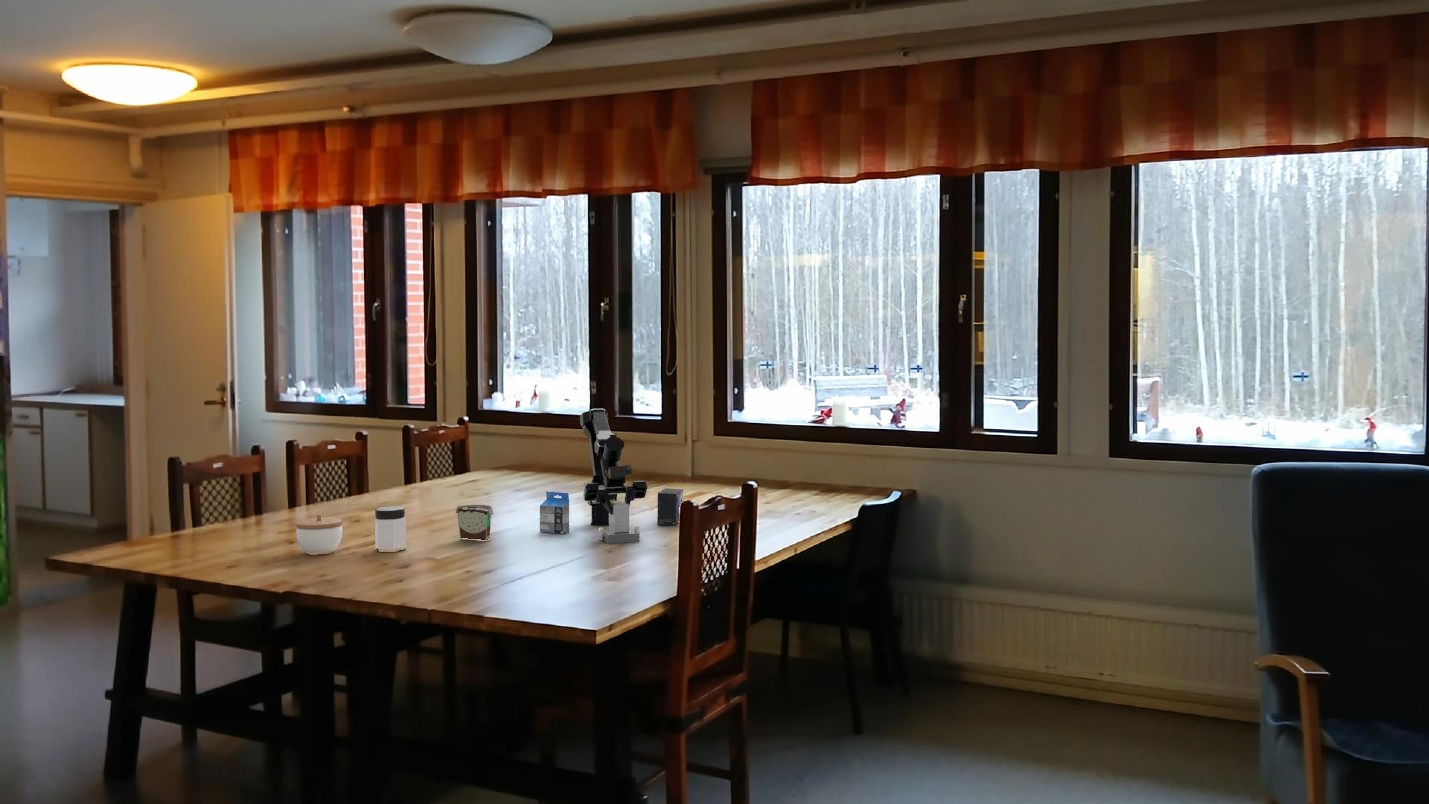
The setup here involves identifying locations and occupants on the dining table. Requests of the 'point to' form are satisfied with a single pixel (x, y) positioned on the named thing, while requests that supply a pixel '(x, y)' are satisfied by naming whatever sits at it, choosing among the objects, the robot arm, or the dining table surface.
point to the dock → (619, 536)
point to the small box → (669, 506)
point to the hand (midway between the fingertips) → (619, 513)
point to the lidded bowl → (319, 533)
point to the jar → (390, 527)
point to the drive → (619, 518)
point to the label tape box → (555, 513)
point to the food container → (474, 521)
